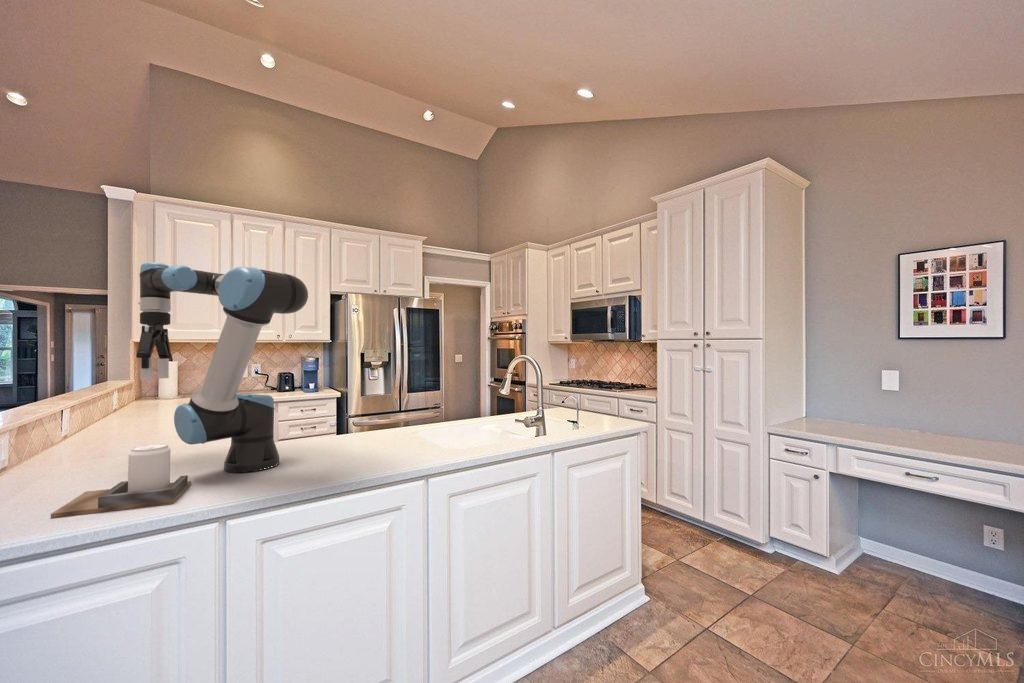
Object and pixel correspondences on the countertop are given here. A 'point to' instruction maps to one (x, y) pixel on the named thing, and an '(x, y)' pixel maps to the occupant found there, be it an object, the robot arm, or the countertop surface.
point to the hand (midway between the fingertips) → (155, 379)
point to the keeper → (122, 499)
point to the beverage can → (149, 467)
